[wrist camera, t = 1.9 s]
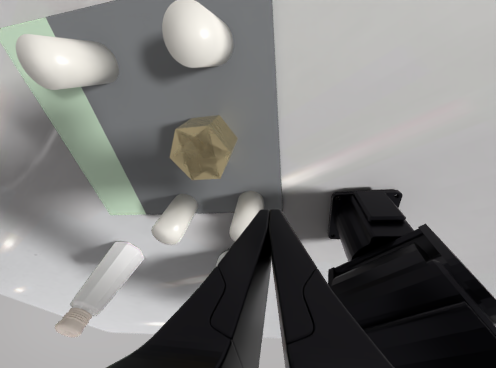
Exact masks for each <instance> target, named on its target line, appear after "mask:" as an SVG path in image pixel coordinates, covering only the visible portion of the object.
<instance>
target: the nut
mask: <svg viewBox="0 0 496 368" xmlns="http://www.w3.org/2000/svg"><path fill="white" fill-rule="evenodd" d="M237 139H238V138H237V137H236V135H235V134H234V133H233V132H232V130H231V129H230V128H229V127H228V125H227V124H226V123H225V121H224V120H223V119H222V118H221V116H220V115H215V116H206V117H197V118H191V119H190V120H188V121H187V122H185V123H184V124H182V125H181V126H179V127H178V128H176V129H175V133H174V138H173V143H172V148H171V153H170V158H171V160H172V161H173V162H174V163H175V164H176V165H177V166H178V167H179V168H180V169H181V170H182V171H183V172H184V173H185V174H186V175H187V176H188V177H189V178H190V179H191V180H205V179H220V178H221V176H222V174H223V172H224V170H225V168H226V166H227V164H228V162H229V159H230V157H231V154H232V152H233V149H234V147H235V144H236V142H237Z"/></svg>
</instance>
